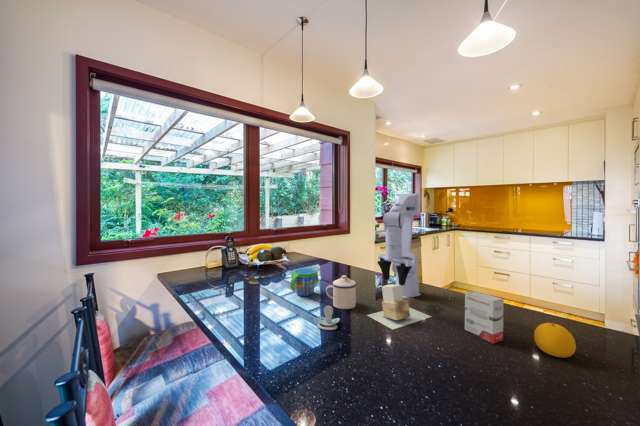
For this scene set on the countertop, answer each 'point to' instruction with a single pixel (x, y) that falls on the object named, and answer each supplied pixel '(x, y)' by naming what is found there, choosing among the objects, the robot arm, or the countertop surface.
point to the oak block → (396, 310)
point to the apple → (554, 340)
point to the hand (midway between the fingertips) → (394, 282)
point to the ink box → (484, 316)
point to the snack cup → (304, 281)
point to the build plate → (395, 324)
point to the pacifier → (327, 319)
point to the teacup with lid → (343, 293)
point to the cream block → (392, 293)
